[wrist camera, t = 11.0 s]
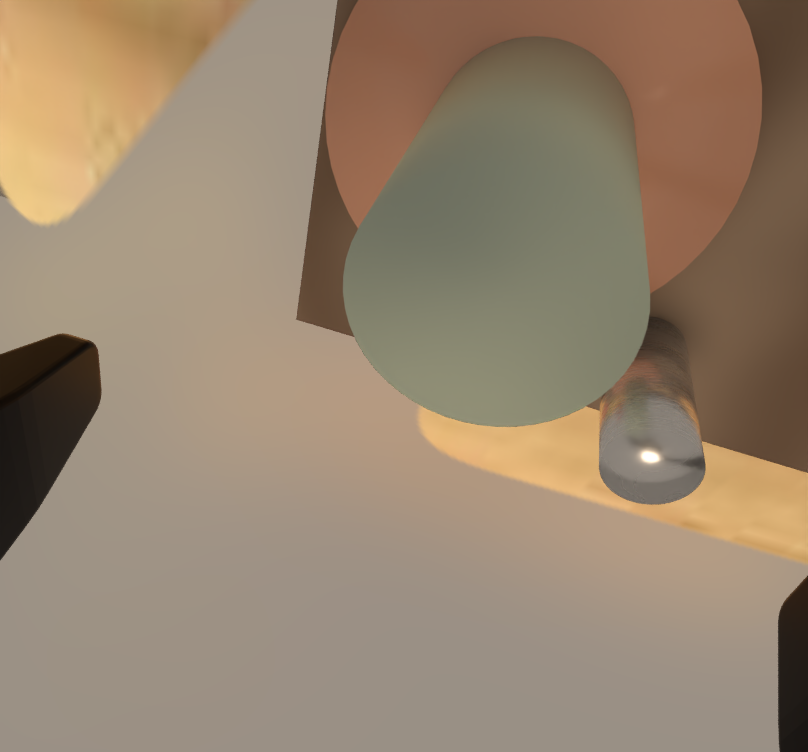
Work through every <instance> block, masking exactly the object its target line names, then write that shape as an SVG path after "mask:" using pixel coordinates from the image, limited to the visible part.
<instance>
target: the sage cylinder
mask: <svg viewBox="0 0 808 752" xmlns="http://www.w3.org/2000/svg"><path fill="white" fill-rule="evenodd" d="M343 297H344V305H345V310H346V314H347V318H348V322H349V325H350V328H351V330H352V332H353V335H354V337H355V339H356V341H357V343H358V345H359V347H360V348H361V350H362V352H363V354H364V355H365V356H366V358H367V359H368V360H369V362H370V363H371V365H373V367H374V368H375V370H376V371H378V373H379V374H380V375H381V376H382V377H383V378H384V379H385V380H386V381H387V382H388V383H389V384H391V385H392V386H393V387H394V388H395V389H397V390H398V391H399V392H400V393H402V394H403V395H405V396H406V397H408V398H409V399H411V400H412V401H414V402H415V403H417V404H419V405H421V406H423V407H425V408H426V409H428V410H431V411H433V412H435V413H438V414H440V415H443V416H445V417H448V418H452V419H455V420H458V421H462V422H466V423H471V424H477V425H484V426H494V427H517V426H526V425H534V424H539V423H543V422H548V421H552V420H555V419H558V418H561V417H564V416H567V415H569V414H571V413H573V412H575V411H578V410H580V409H582V408H584V407H585V406H587V405H589V404H590V403H592V402H593V401H595V400H597V399H598V398H599V397H601V396H602V395H603V394H604V393H606V392H607V391H608V390H609V389H610V388H612V387H613V386H614V385H615V383H616V382H617V381H618V380H619V379H620V378H621V377H622V376H623V375H624V374H625V372H626V371H627V369H628V368H629V366H630V365H631V364H632V362H633V361H634V359H635V357H636V355H637V353H638V351H639V349H640V347H641V345H642V342H643V339H644V336H645V333H646V330H647V326H648V320H649V314H650V286H649V275H648V264H647V254H646V243H645V232H644V222H643V211H642V201H641V190H640V179H639V169H638V158H637V147H636V137H635V126H634V119H633V113H632V109H631V106H630V102H629V99H628V97H627V95H626V93H625V90H624V88H623V86H622V85H621V83H620V82H619V80H618V79H617V77H616V76H615V74H614V73H613V72H612V71H611V70H610V69H609V67H608V66H607V65H606V64H605V63H604V62H602V61H601V60H600V59H599V58H598V57H596V56H595V55H594V54H592V53H591V52H589V51H587V50H586V49H584V48H583V47H580V46H578V45H576V44H573V43H571V42H568V41H564V40H561V39H557V38H551V37H542V36H534V37H521V38H515V39H511V40H507V41H504V42H501V43H498V44H496V45H494V46H491V47H489V48H487V49H485V50H484V51H482V52H480V53H479V54H477V55H476V56H474V57H473V58H472V59H470V60H469V61H468V62H467V63H466V64H465V65H463V66H462V67H461V69H460V70H459V71H458V72H457V73H456V74H455V75H454V76H453V78H452V79H451V81H450V82H449V83H448V85H447V86H446V88H445V89H444V91H443V93H442V94H441V96H440V98H439V99H438V101H437V102H436V104H435V106H434V107H433V109H432V110H431V112H430V114H429V115H428V117H427V118H426V120H425V122H424V123H423V125H422V126H421V128H420V130H419V131H418V133H417V134H416V136H415V138H414V139H413V141H412V143H411V144H410V146H409V147H408V149H407V151H406V152H405V154H404V155H403V157H402V159H401V160H400V162H399V163H398V165H397V167H396V168H395V170H394V171H393V173H392V175H391V176H390V178H389V179H388V181H387V183H386V184H385V186H384V188H383V189H382V191H381V192H380V194H379V196H378V197H377V199H376V200H375V202H374V204H373V205H372V207H371V208H370V210H369V212H368V213H367V215H366V216H365V218H364V220H363V221H362V223H361V225H360V226H359V228H358V230H357V232H356V234H355V236H354V238H353V240H352V242H351V245H350V248H349V251H348V254H347V257H346V262H345V268H344V274H343Z"/></svg>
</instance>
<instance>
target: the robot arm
mask: <svg viewBox="0 0 808 752" xmlns="http://www.w3.org/2000/svg"><path fill="white" fill-rule="evenodd" d="M100 399H101V380H100V367H99V355H98V349H97V347H96V345H95V344H94V343H93V342H91V341H89V340H86V339H83V338H79V337H76V336H73V335H69V334H57V335H54V336H51V337H48V338H45V339H42V340H40V341H37V342H34V343H31V344H28V345H25V346H23V347H20V348H17V349H14V350H11V351H8V352H6V353H3V354H0V560H1V559H2V558H3V556H4V555H5V554H6V552H7V551H8V550H9V548H10V547H11V546H12V544H13V543H14V541H15V540H16V539H17V537H18V536H19V535H20V533H21V532H22V531H23V530H24V528H25V526H27V524H28V523H29V521H30V520H31V518H32V517H33V516H34V514H35V513H36V511H37V510H38V508H39V507H40V505H41V504H42V502H43V501H44V499H45V497H46V496H47V494H48V493H49V491H50V489H51V487H52V486H53V484H54V482H55V481H56V479H57V477H58V475H59V474H60V472H61V470H62V469H63V467H64V465H65V464H66V462H67V460H68V458H69V457H70V455H71V453H72V452H73V450H74V448H75V447H76V445H77V443H78V441H79V440H80V438H81V436H82V434H83V433H84V431H85V429H86V428H87V426H88V424H89V423H90V421H91V419H92V417H93V416H94V414H95V412H96V410H97V408H98V406H99V403H100ZM778 725H779V726H778V728H779V748H780V752H808V576H807V577H806V578H805V579H804V580H803V581H802V582H801V583H800V585H799V586H798V587H797V588H796V589H795V590H794V591H793V592H792V593H791V594H790V596H789V597H788V598H787V599H786V600H785V601H784V603H783V605H782V607H781V610H780V613H779V620H778Z"/></svg>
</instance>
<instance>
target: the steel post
mask: <svg viewBox="0 0 808 752" xmlns="http://www.w3.org/2000/svg"><path fill="white" fill-rule="evenodd" d="M599 470H600V475H601V478H602V479H603V481H604V483H605V484H606V486H607V487H608V488H609V489H610V490H611V491H613V492H614V493H615V494H617V495H618V496H620V497H622V498H624V499H626V500H629V501H632V502H636V503H641V504H665V503H670V502H673V501H677V500H679V499H682V498H684V497H685V496H687V495H689V494H690V493H692V492H693V491H694V490H695V489H696V488H697V487H698V486H699V485H700V483H701V482H702V480H703V477H704V475H705V459H704V453H703V447H702V440H701V434H700V427H699V421H698V415H697V408H696V402H695V395H694V389H693V382H692V376H691V370H690V363H689V357H688V350H687V345H686V341H685V338H684V336H683V334H682V333H681V332H680V330H679V329H678V328H677V327H676V326H674V325H673V324H671V323H670V322H668V321H666V320H663V319H660V318H656V317H649V320H648V326H647V330H646V333H645V336H644V339H643V342H642V345H641V347H640V349H639V351H638V353H637V355H636V357H635V359H634V361H633V362H632V364H631V365H630V366H629V368H628V369H627V371H626V372H625V374H624V375H623V376H622V377H621V378H620V379H619V380H618V381H617V382H616V383H615V385H614V386H613V387H612V388H610V389H609V390H608V391H607V392H606V393H604V394H603V395H602V396H601V397H600V443H599Z"/></svg>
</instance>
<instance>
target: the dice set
mask: <svg viewBox="0 0 808 752" xmlns="http://www.w3.org/2000/svg"><path fill="white" fill-rule="evenodd" d="M0 196H2V197H5V198H8V197H7V195H6V194H5V192H4V190H3V188H2V186H1V185H0ZM8 199H9V198H8Z"/></svg>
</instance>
